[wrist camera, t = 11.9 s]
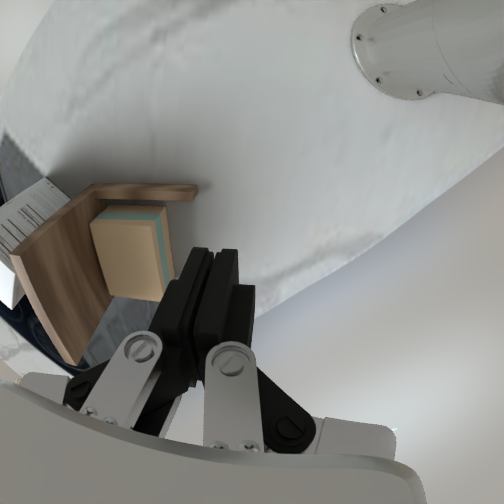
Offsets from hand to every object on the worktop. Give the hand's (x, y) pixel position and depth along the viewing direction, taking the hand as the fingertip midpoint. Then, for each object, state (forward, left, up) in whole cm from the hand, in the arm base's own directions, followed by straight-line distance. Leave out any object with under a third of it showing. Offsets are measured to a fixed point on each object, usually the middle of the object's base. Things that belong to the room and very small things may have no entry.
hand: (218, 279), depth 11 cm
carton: (+15, +15, -25) cm, 33 cm away
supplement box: (+32, +10, -25) cm, 41 cm away
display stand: (+15, +14, -24) cm, 32 cm away
